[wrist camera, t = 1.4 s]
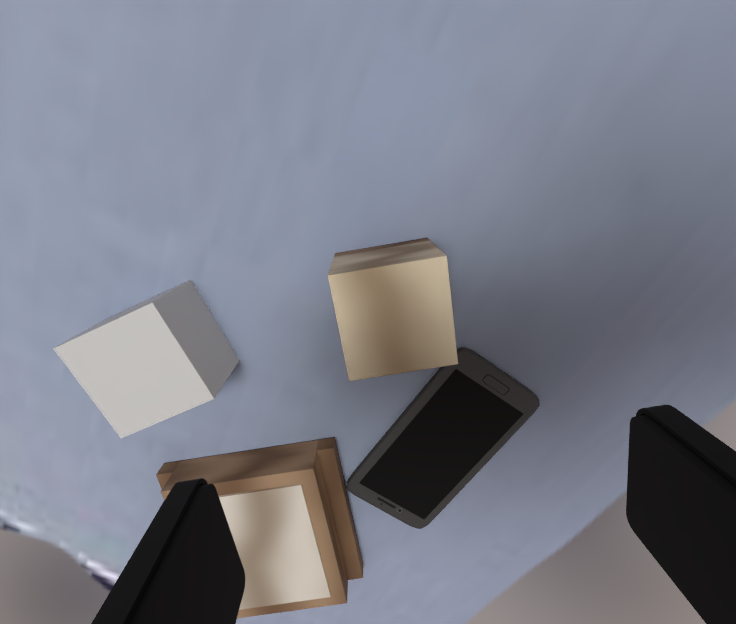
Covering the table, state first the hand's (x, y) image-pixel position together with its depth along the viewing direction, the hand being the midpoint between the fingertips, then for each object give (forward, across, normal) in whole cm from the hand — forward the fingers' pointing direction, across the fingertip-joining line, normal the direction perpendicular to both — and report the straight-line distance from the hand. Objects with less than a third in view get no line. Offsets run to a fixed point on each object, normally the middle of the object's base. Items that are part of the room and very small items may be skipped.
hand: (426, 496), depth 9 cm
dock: (+17, +11, +16) cm, 26 cm away
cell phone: (+18, -2, +12) cm, 22 cm away
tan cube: (+17, 0, 0) cm, 17 cm away
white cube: (+18, +14, +1) cm, 22 cm away
